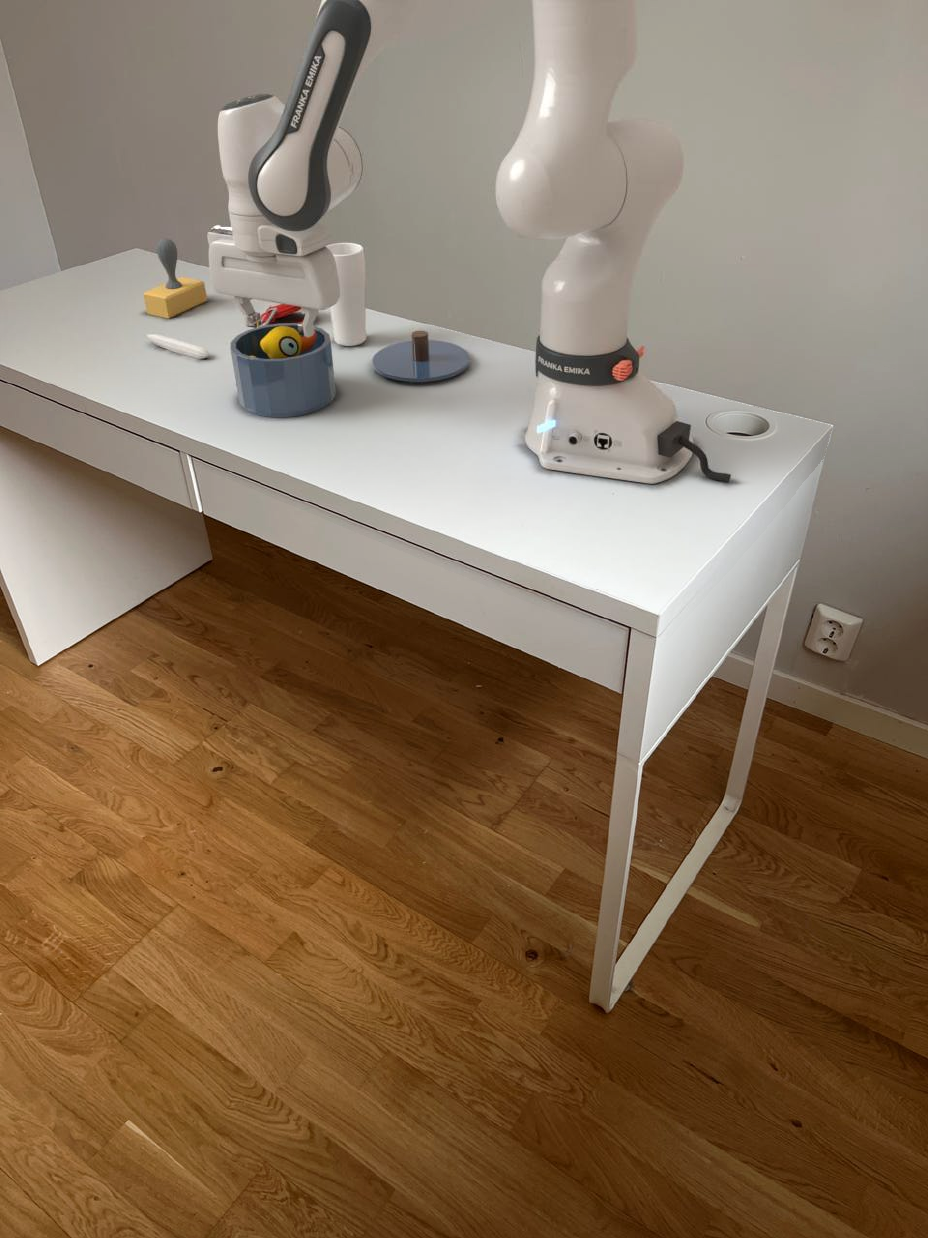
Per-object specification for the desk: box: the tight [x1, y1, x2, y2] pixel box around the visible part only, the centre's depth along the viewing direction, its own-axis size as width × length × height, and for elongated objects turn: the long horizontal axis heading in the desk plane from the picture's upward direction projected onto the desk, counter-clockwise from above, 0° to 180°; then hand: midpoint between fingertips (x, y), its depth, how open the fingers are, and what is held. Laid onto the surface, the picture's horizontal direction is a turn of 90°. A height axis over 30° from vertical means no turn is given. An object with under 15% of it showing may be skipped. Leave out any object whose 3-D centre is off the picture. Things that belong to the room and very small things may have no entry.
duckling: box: [250, 326, 317, 359], centre depth 147 cm, size 11×5×10 cm, turn 113°
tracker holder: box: [258, 303, 304, 327], centre depth 173 cm, size 12×4×10 cm
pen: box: [146, 333, 209, 360], centre depth 165 cm, size 2×14×2 cm, turn 56°
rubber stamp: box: [143, 237, 208, 320], centre depth 178 cm, size 10×6×12 cm, turn 150°
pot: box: [229, 322, 337, 418], centre depth 148 cm, size 14×14×8 cm
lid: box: [371, 330, 471, 383], centre depth 157 cm, size 15×15×5 cm
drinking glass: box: [325, 242, 367, 347], centre depth 163 cm, size 7×7×15 cm
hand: (280, 330), depth 144 cm, fingers open, 8 cm apart
